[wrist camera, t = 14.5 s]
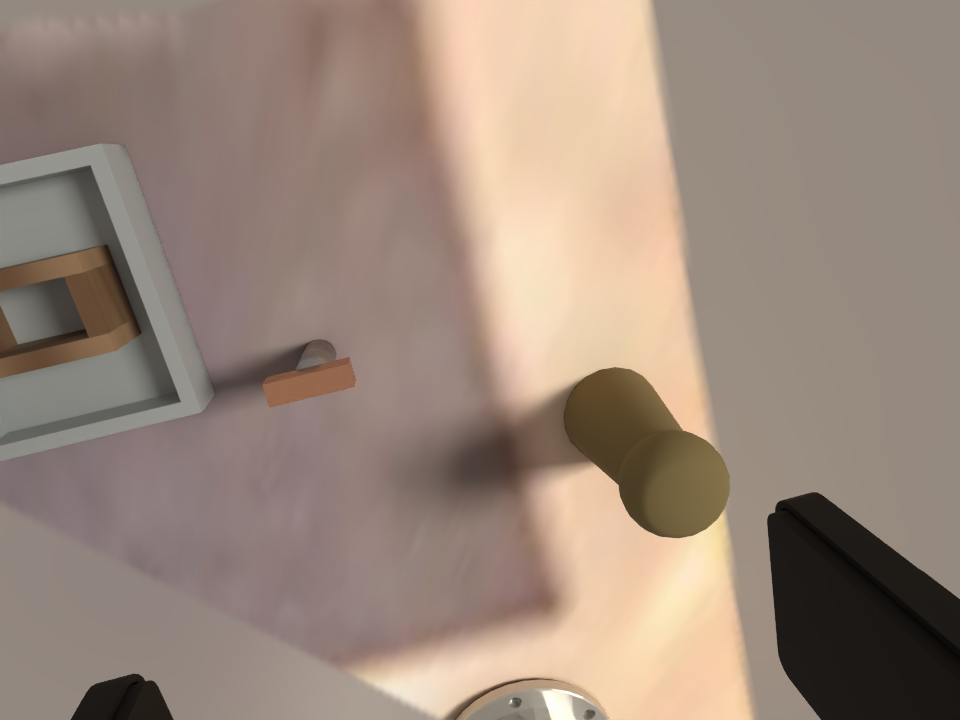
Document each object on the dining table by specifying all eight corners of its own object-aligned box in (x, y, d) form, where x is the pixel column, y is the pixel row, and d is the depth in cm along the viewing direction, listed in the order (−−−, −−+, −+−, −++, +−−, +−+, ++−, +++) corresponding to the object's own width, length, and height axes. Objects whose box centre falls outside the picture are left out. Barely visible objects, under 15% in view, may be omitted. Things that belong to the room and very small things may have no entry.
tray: (215, 394, 37) (201, 412, 34) (5, 444, 36) (-25, 467, 33) (124, 145, 32) (101, 143, 30) (-115, 196, 32) (-161, 199, 29)
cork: (576, 471, 41) (640, 575, 31) (553, 385, 39) (612, 465, 29) (666, 441, 41) (760, 535, 31) (647, 354, 40) (740, 423, 29)
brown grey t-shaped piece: (360, 360, 37) (356, 392, 32) (288, 378, 37) (271, 413, 32) (352, 331, 37) (346, 358, 32) (278, 348, 36) (260, 379, 31)
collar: (107, 244, 33) (67, 255, 29) (142, 333, 35) (108, 355, 31) (-34, 275, 33) (-94, 291, 29) (7, 364, 34) (-45, 391, 30)
